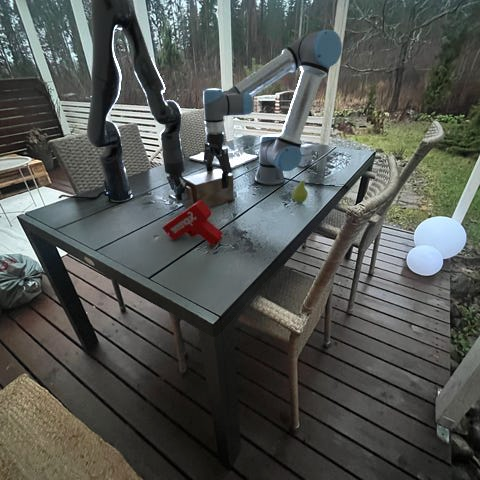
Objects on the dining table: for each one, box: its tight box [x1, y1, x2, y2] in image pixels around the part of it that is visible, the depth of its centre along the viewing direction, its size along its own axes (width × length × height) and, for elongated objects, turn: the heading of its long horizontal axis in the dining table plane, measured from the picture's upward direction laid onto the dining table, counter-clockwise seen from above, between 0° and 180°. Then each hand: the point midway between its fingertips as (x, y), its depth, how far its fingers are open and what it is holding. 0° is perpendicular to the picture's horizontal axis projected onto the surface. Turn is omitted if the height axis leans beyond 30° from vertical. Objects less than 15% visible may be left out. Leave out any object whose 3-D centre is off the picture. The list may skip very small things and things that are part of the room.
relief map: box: [189, 143, 258, 170], centre depth 177 cm, size 27×35×5 cm
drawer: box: [168, 182, 197, 209], centre depth 116 cm, size 23×10×10 cm, turn 129°
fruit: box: [291, 174, 311, 204], centre depth 118 cm, size 7×8×12 cm
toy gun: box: [162, 200, 224, 248], centre depth 93 cm, size 18×4×15 cm
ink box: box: [297, 143, 314, 168], centre depth 163 cm, size 8×5×12 cm, turn 135°
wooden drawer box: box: [183, 168, 235, 209], centre depth 120 cm, size 19×11×12 cm, turn 129°
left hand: (179, 201), depth 113 cm, fingers closed
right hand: (217, 184), depth 122 cm, fingers closed on wooden drawer box, 11 cm apart
